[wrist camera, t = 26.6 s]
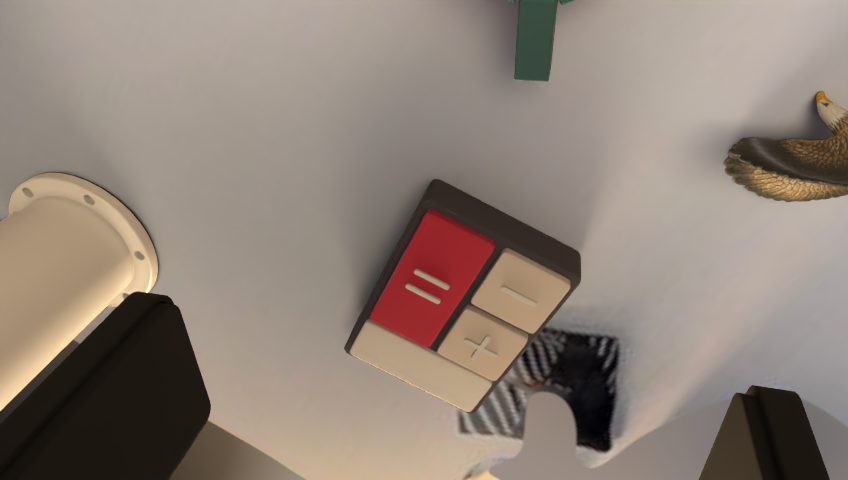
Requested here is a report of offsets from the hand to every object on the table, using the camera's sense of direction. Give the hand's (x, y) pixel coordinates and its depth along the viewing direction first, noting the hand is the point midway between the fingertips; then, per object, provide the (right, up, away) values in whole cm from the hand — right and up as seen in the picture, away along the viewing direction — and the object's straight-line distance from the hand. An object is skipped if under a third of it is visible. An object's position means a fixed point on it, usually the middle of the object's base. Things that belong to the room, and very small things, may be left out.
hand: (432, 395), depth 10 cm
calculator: (+3, -1, +33) cm, 33 cm away
